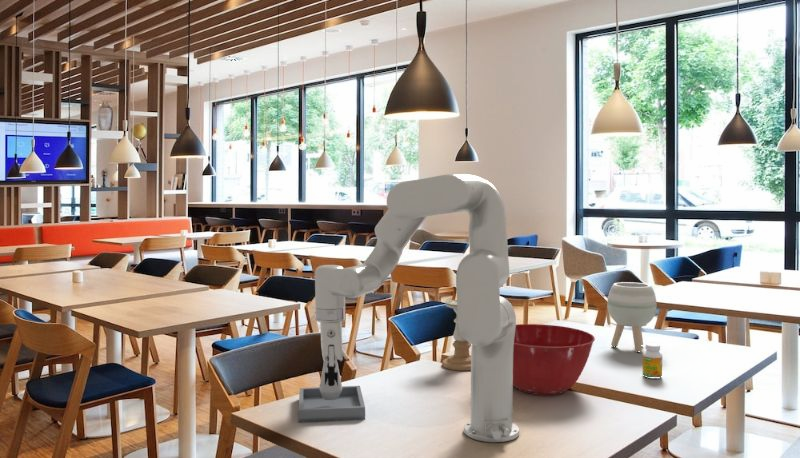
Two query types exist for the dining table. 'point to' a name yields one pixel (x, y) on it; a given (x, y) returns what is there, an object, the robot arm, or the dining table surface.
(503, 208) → the robot arm
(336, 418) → the tray
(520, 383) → the mixing bowl
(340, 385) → the salt shaker
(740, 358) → the dining table surface
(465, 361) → the candle holder
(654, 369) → the supplement bottle
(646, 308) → the planter
